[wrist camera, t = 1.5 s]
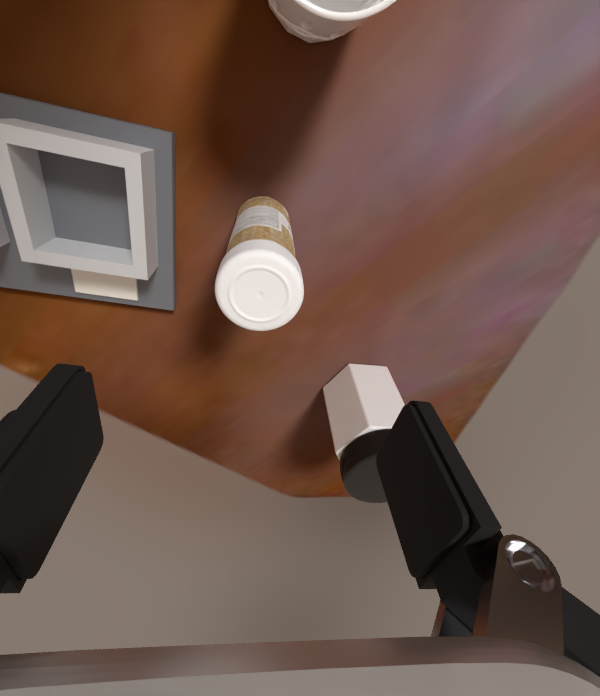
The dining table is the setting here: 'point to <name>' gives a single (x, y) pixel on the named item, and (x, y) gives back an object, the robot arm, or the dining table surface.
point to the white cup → (324, 16)
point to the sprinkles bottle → (260, 268)
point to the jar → (361, 425)
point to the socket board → (86, 205)
